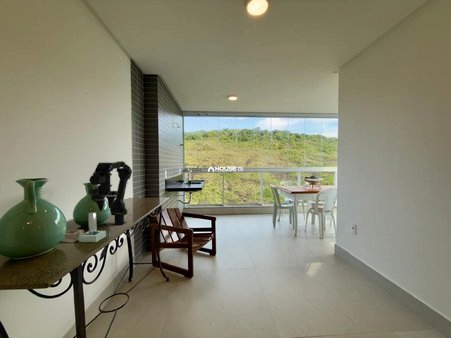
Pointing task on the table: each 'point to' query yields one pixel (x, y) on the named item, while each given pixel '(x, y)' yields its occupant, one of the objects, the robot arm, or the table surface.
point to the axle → (92, 223)
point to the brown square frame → (72, 235)
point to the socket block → (92, 237)
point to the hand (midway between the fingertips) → (105, 209)
